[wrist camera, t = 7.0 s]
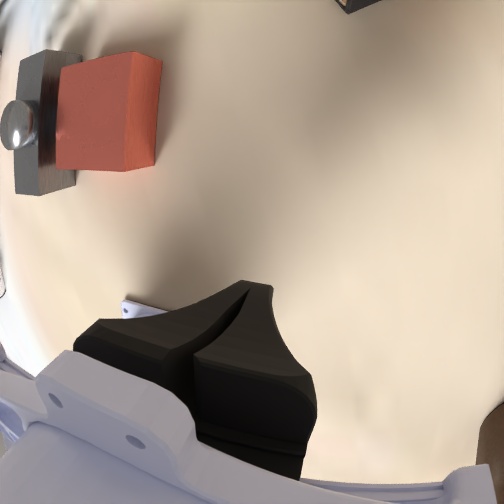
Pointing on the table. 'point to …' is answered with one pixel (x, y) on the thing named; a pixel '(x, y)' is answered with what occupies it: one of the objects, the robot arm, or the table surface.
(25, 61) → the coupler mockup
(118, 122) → the red block
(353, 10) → the ammunition clip
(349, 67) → the table surface
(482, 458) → the plant pot
